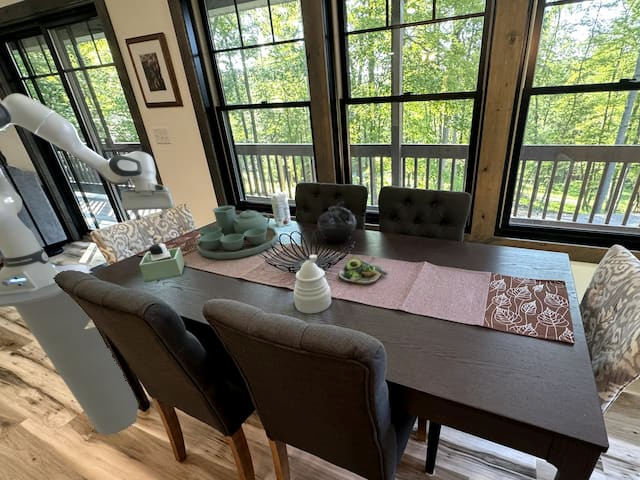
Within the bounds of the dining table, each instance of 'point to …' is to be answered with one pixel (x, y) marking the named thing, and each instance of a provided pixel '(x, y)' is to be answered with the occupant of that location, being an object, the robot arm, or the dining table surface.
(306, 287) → the honey pot
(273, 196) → the white ribbed cylinder
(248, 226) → the tea set
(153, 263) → the bin
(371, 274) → the salad plate
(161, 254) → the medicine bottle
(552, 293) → the dining table surface
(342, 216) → the coal bowl
